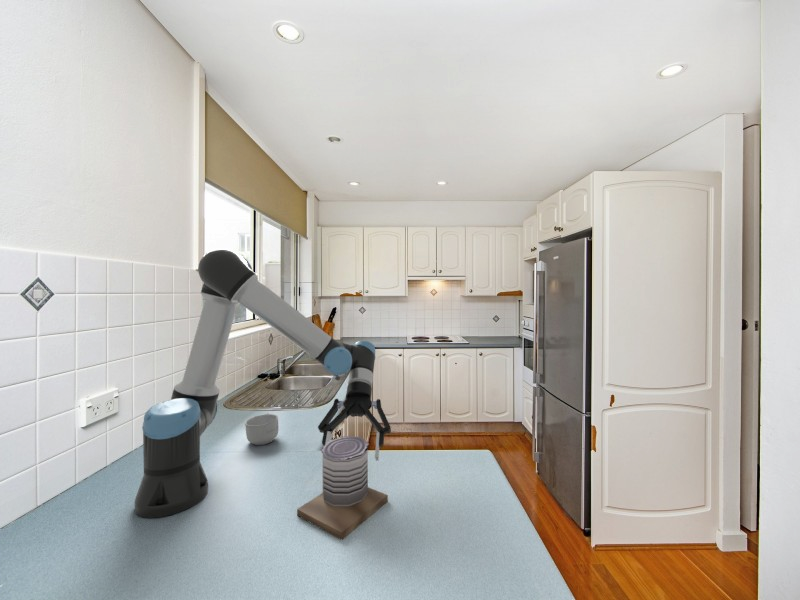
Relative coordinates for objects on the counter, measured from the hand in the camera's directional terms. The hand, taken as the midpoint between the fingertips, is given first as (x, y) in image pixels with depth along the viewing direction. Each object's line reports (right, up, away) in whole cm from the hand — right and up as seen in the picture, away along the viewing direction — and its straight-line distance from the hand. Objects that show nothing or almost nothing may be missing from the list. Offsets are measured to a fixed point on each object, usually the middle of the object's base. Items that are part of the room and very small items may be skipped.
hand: (350, 458), depth 89 cm
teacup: (-35, -8, +31) cm, 47 cm away
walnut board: (0, -8, -9) cm, 12 cm away
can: (-1, -6, -5) cm, 8 cm away
